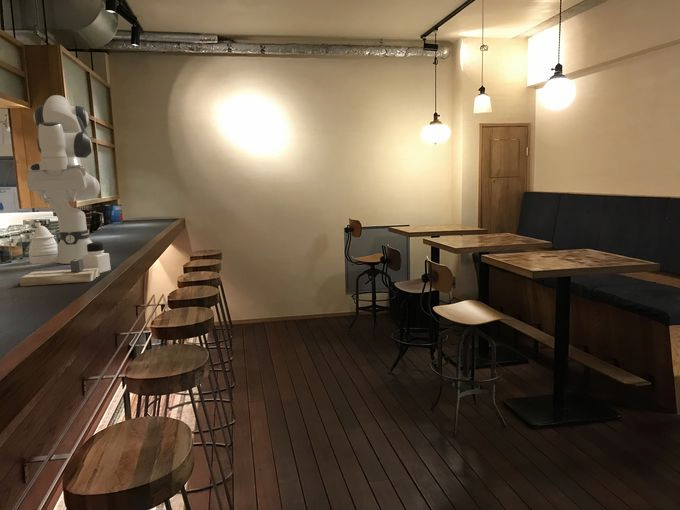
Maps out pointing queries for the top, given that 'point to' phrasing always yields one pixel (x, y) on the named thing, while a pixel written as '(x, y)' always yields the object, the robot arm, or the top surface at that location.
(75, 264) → the fader knob
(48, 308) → the top surface
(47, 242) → the honey pot
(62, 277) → the control strip
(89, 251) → the medicine bottle
